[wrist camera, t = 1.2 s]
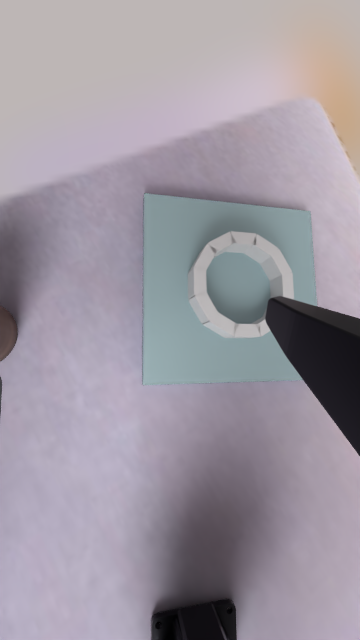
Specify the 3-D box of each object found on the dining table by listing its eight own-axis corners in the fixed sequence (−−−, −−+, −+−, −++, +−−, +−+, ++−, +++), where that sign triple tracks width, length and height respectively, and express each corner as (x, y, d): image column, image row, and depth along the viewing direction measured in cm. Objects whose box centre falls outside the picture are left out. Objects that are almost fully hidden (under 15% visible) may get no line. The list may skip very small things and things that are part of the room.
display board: (314, 378, 27) (338, 381, 24) (142, 383, 23) (145, 388, 20) (303, 216, 28) (324, 200, 26) (143, 199, 25) (146, 178, 22)
